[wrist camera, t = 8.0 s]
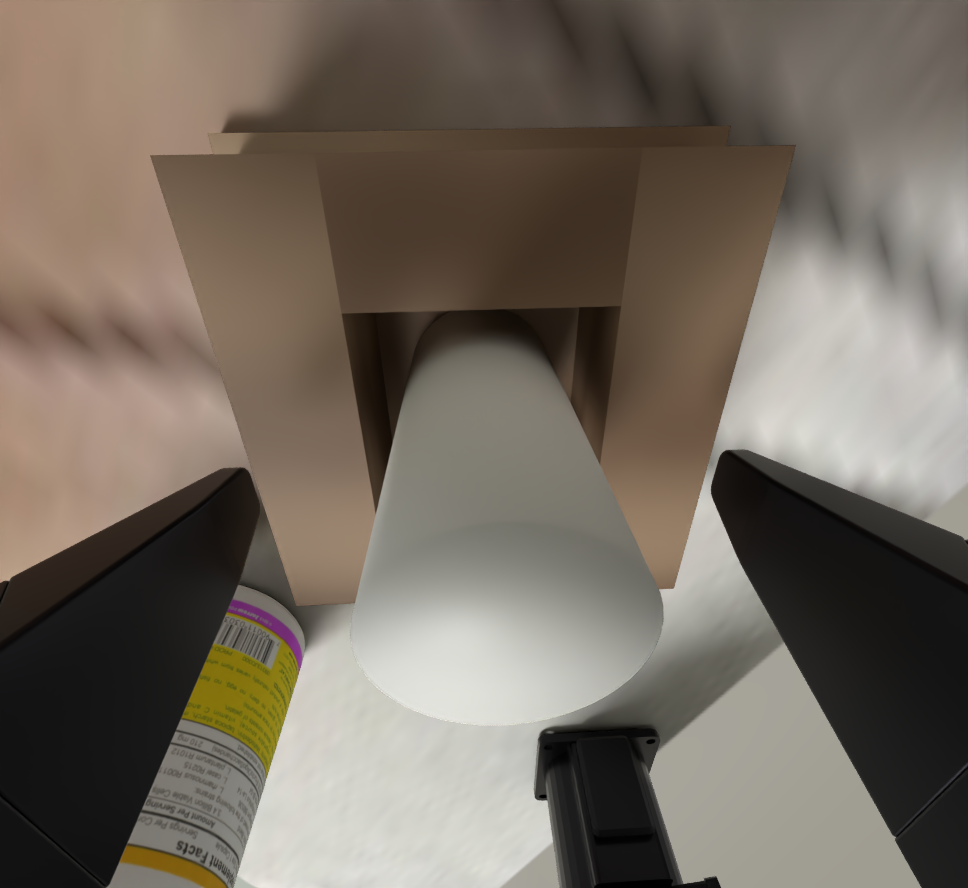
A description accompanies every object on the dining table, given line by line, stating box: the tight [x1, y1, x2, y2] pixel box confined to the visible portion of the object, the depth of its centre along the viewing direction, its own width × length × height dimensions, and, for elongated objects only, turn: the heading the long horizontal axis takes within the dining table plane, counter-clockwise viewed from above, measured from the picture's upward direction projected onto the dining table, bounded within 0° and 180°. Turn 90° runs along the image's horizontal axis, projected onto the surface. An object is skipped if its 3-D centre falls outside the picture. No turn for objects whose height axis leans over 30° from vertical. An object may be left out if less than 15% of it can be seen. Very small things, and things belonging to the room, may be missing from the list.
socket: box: [150, 126, 796, 606], centre depth 12 cm, size 12×12×4 cm
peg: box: [350, 309, 663, 726], centre depth 10 cm, size 4×4×9 cm
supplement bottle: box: [106, 585, 305, 888], centre depth 14 cm, size 7×7×13 cm
